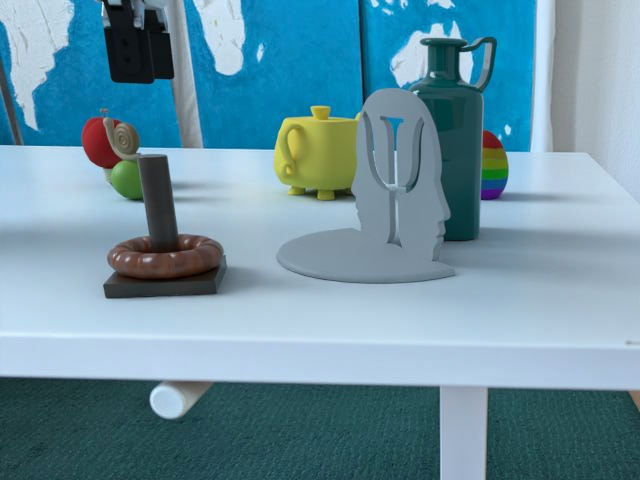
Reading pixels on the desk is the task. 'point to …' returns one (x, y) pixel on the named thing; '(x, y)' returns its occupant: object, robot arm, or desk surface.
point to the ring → (165, 258)
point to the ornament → (385, 203)
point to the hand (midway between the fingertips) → (145, 80)
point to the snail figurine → (124, 158)
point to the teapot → (317, 153)
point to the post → (162, 239)
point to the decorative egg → (493, 167)
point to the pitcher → (456, 128)
